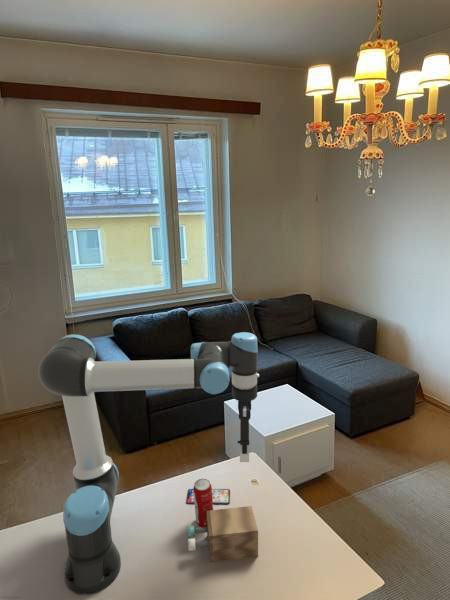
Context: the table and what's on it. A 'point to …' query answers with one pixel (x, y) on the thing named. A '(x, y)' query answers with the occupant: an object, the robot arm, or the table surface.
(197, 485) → the beverage can
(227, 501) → the smartphone
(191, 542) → the cream knob
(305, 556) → the table surface
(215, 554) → the console
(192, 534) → the teal knob
